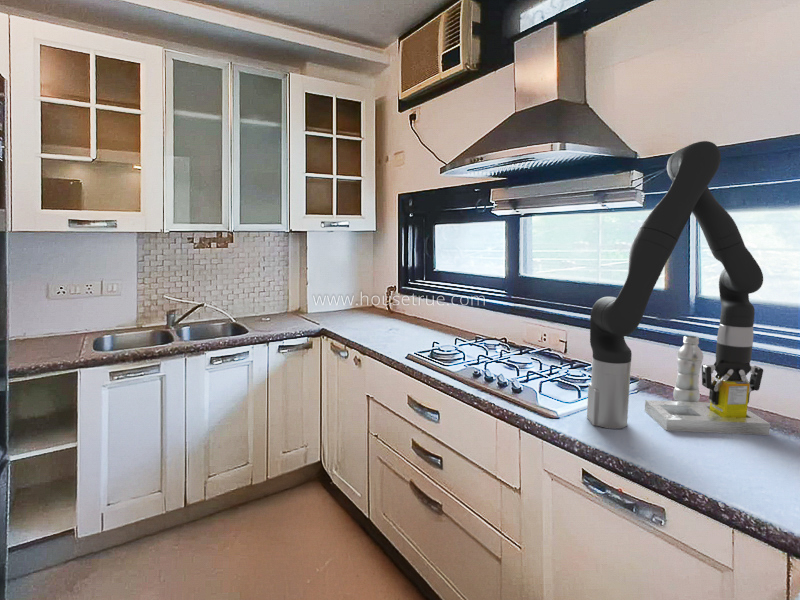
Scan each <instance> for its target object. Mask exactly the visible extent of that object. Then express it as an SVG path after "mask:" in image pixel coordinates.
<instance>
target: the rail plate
mask: <svg viewBox="0 0 800 600" xmlns="http://www.w3.org/2000/svg"><path fill="white" fill-rule="evenodd" d="M644 412H646V413H647V414H648V415H649V416H650V417H651V418H652V419H653V420H654V421H655V422H656V423H658V424H659V425H660V426H661V427H662V428H663V429H664V430H665V431H666V432H688V433H692V432H693V433H710V434H711V433H712V434H714V433H715V434H732V433H733V434H736V435H758V436H760V435H761V436H770V429H771V422H768V421H766V420H765V419H763V418H762V417H760V416H758V415H757V414H755V413H754V412H752V411H750V410H748V409H747V416H746V418H737V417H720V416H719V415H717V414H716V413H714V412H713V411H711V410H710V402H707V401H706V402H705V401H698V402H680V401H675V400H652V399H651V400H650V399H649V400H647V399H646V400H645V403H644Z"/></svg>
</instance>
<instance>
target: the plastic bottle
mask: <svg viewBox="0 0 800 600" xmlns="http://www.w3.org/2000/svg"><path fill="white" fill-rule="evenodd" d="M699 340H700V338H699V337H698V336H696V335H684V336H683V340H682V343H683V345H681V347H680V348H679V349H678V351H676V352H677V353H676V362H677V374H676V375H677V377H676V381H675V386H674V389H673V393H672V396H673V399H674V401H680V402H700V399H701V398H700V397H701V396H700V393H701V392H700V388H699V387H700V386H699V385H700V380H699V379H700V373H701V369H702V365H703V361H704V353H703V351H702V350H701V348H700V347H699V344H700V341H699Z"/></svg>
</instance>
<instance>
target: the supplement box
mask: <svg viewBox="0 0 800 600" xmlns="http://www.w3.org/2000/svg"><path fill="white" fill-rule="evenodd" d="M711 377H712V381H713V377H714V376H711ZM718 379H719V380H720V379H721V378H718ZM716 383H717V382H716ZM749 385H750V383H748V382H742V380H740V381H726V382H723V384H722V385H721V388H720V389H719V390H718V392H719V399H718V405H714V404H712V403H711V401H709V403H710V410H711V411H713V412H714V413H716V414H717V415H719V416H720V417H737V418H746V416H747V410H748V405H749V403H748V395H749Z"/></svg>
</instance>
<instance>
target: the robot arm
mask: <svg viewBox="0 0 800 600" xmlns="http://www.w3.org/2000/svg"><path fill="white" fill-rule="evenodd" d="M721 161H722V156H721V151H720V148H719V147H718V146H717V144H716V143H714V142H713V141H712V142H711V141H708V140H703V141H698V142H694V143H690V144H689V145H687V146H684V147H682V148H680V149H678V150H676V151H675V152H674V153H672V155H671V156H670V157H669V158H668V160H667V163H666V164H667V165H666V171H667V175H668V177H669V179H670V180H671V181H672V183H671V185H670V187H669V189H668V190H667V192H666V194H665V195H664V196H663V197H662V199H661V200H660V201H659V202H658V203H657V204H656V205H655V206H654V208H653V209H652V210H651V211H650V212H649V213H648V215H647V216H646V217H645V219H644V220H643V222H642V223H641V225H640V227H639V229H638V230H637V232H636V234H635V236H634V238H633V240H632V243H631V245H630V247H629V248H630V249H629V254H628V272H627V277H626V279H625V281H624V284H623V286H622V288H620V289H621V290H620V292H619V293H618V295H617V297H615V296H604V297H601V298H599V299H597V300H596V301H595V303H594V304H593V306H592V308H591V311H590V317H589V318H590V320H589V343H590V344H589V345H590V347H591V350H592V351H591V352H592V358H591V359H592V361H591V379H590V382H589V383H588V393H587V406H586V407H587V411H586V412H587V413H586V418H587V419H588V421H589V422H590V423H591V425H592V426H597V427H602V428H606V429H614V430H615V429H616V430H617V429H618V430H619V429H623V428H624V429H625V428H626V427H627V426H628V419H629V415H628V414H629V402H630V401H629V400H630V399H629V398H630V384H631V373H632V371H631V370H632V356H633V355H632V350H631V348H630V347H629V345H628V344H627V342H626V340H625V337H626V336H629V335H631V334H632V333H634V331H636V330H637V328H638V327H639V325H640V323H641V321H642V319H643V316H644V314H645V311H646V309H647V306H648V303H649V301H650V298H651V295H652V293H653V291H654V289H655V286H656V284H657V283H658V280H659V278H660V276H661V274H662V271H663V270H664V268H665V266H666V264H667V262H668V261H669V259H670V257H671V255H672V253H673V251H674V249H675V247H676V245H677V243H678V241H679V239H680V237H681V234H682V233H683V231H684V228H685V227H686V224H687V223H688V221H689V219H690V217H691V215H692V214H693V216H694V217H695V219H696V221H697V223H698V225H699V227H700V229H701V232H702V233H703V235H704V238H705V240H706V243H707V245H708V248H709V250H710V252H711V254H712V255H713V257H714V259H716V260H717V261H719V262H720V263H721V264H722V266H723V269H722V270H721V273H720V276H719V277H718V278H719V279H718V290H719V299H720V305H721V309H720V317H719V318H720V319H719V326H718V331H717V337H716V346H715V347H716V348H715V361H714V364H708V365H707V364H706V363H704V364H703V363H702V364H701V385H702V386H703V387H705V388H706V389H709V394H708V395H709V396H708V401H709V402H710V401H711V403H712V404H714V405H718V399H719V392H718V390H719V389H720V388H721V385H722V384H723V382H726V381H740V380H742V382H748V383H750V385H749V395H748V404H749V403H750V394H751V393H752V392H753V391H757V392H758V391H759V390H760V387H761V384H762V383H761V382H762V378H763V375H764V369H763V368H761V367H759V366H758V365H753V366H752V365H751V361H752V356H753V355H752V354H753V347H754V346H753V345H754V324H755V323H754V322H755V314H756V313H755V306H754V304H752V303H751V302H750V295H749V294H753V293H756V292H758V291H759V290H760V289H761V288H762V286H763V284H764V273H763V271H762V268H761V267H760V265H759V264H758V261H756V259H755V257H754V256H753V254H752V253H751V252H750V251H749V249H748V248H747V247H746V245H745V242H744V239H743V236H742V234H741V233H740V230H739V227H738V226H737V223H736V222H735V220H734V219H733V218H732V216H731V215H730V213H729V212H728V211H727V210H726V209H725V208H724V207H723V205H721V204H720V203H719V202H718V200H716V198H715V197H714V195H713V194H712V192H711V190H710V188H709V186H708V185H709V184H710V183H711V181H712V180H713V178H714V177H715V175H716V174H717V173H718V170H719V168H720V166H721ZM714 371H715V372H716V373H715V374H714V376H712V374H713V373H714ZM749 373H750V378H749V379H748V377H747V375H748V374H749ZM712 377H713V381H712ZM718 378H721V379H720V380H719V379H718ZM716 382H717V383H716Z"/></svg>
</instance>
